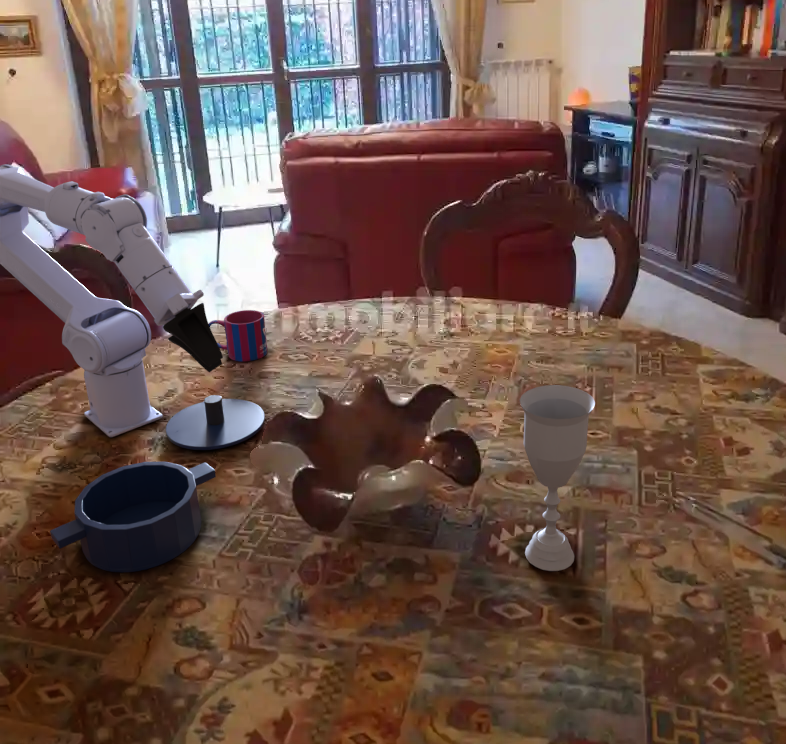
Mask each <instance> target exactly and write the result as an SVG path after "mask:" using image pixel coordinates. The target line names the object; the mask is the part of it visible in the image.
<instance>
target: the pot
mask: <svg viewBox="0 0 786 744" xmlns="http://www.w3.org/2000/svg"><path fill="white" fill-rule="evenodd" d="M216 477H217V475H216V470H215V469H214V468H213V467H212V466H210V465H209V464H208V463H207V462H202V463H199V464H197V465H195V466H193V467H190V468H189V469H188V468H186V467H185V466H183V465H181V464H177V463H173V462H168V461H142V462H138V463H131V464H128V465H127V464H126V465H123V466H120V467H118V468H116V469H112V470H111V471H108V472H106V473H103V474H101V475H99V476H98V477H97V478H96V479H94V480H92V481H91V482H90V483H88V484H87V485H85V486H84V488H83V489H82V490H81V491H80V493H79V494H78V496H77V497H76V499H75V500H74V513H73V514H74V518H75V519H74V520H70V521H69V522H67V523H64V524H62V525H59V526H58V527H55V528H53V529H51V530H49V534H50V538H51V539H52V541H53V542H54V543H55V545H56V546H57V547H58V548H59V549H60V550H61V549H63V548H65V547H67V546H70V545H72V544H74V543H76V542H78V541H80V542H79V543H80V546H81V551H82V553H83V554H84V557H85V559H86V560H87V561H88V563H90V564H91V565H92V566H94V567H95V568H98V569H100V570H102V571H107V572H112V573H133V572H140V571H144V570H145V571H146V570H149V569H153V568H156V567H158V566H161V565H163V564H165V563H167V562H170V561H171V560H174V559H175V558H177V557H178V556H180V555H181V554H183V553H185V551H186V550H187V549H189V548H190V547H191V546H192V544H193V543H194V542H195V541H196V539H197V538H198V536H199V535H200V531H201V529H202V517H201V509H200V503H199V496H198V488H197V486H200V485H202V484H204V483H207V482H209V481H210V480H214V479H215V478H216Z"/></svg>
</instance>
